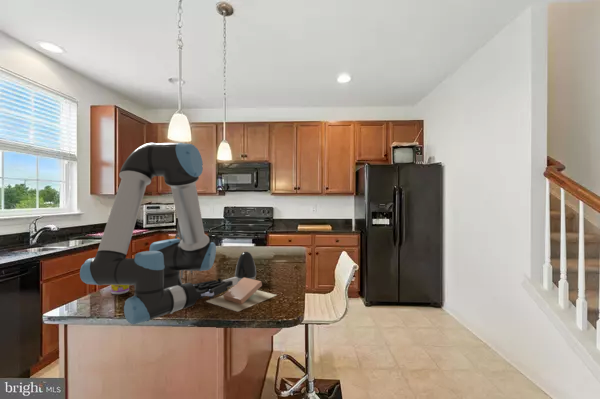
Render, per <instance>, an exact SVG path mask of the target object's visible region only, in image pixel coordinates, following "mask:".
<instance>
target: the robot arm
mask: <svg viewBox="0 0 600 399" xmlns="http://www.w3.org/2000/svg"><path fill="white" fill-rule="evenodd" d="M203 164H204V163H203V158H202V154H201V152H200V151H199V149H198V147H196V146H195V145H194V144H192V143H185V142H161V143H160V142H157V143H156V142H148V143H145V144H142V145H140V146H139V147H137V148H136V149H134V150H133V151H132V152H131V153H130V155H128V157H127V158H126V160H124V162H123V164H122V166H121V168H120V172H119V174H118V177H119V178H120V182H119V185H118V189H117V191H116V195H115V197H114V201H113V203H112V206H111V210H110V213H109V216H108V219H107V222H106V225H105V227H104V229H103V230H104V231H103V234H102V237H101V239H100V243H99V246H98V249H97V251H96V254H95V257H92V258H91V257H90V258H88V259H86V260H85V261H84V263H83V264H82V265H81V267H80V270H79V278H80V279H81V282H83V283H85V284H86V285H95V286H111V285H129V286H133V287H134V295H132V296H130V297H128V298H127V299H126V300H125V301H124V306H123V313H124V314H123V315H124V317H125V319H126V321H127V323H129V324H130V325H137V324H141V323H145V322H149V321H150V320H153V319H156V318H159V317H162V316H165V315H168V314H171V315H172V314H173V313H174V312H177V311H180V310H182V309H183V310H184V309H186V308H190V307H193V306H194V305H195V304H196V303H197V301H198V300H200V299H201V300H202V299H204V298H205V297H209V299H213V298H215V297H216V296H218V295H220V294H222V293H225V292H227V291H228V288H232V287H233V286H234V285H237V284H238V277H235V276H233V277H229V278H226V279H221V278H218V279H217V280H215V279H213V280H207V281H203V282H199V283H192V282H185V283H183V281H182V279H181V270H183V271H186V272H187V271H189V272H191V271H192V272H202V271H209V270H211V269H212V268H213V265H214V263H215V260H216V254H217V245H216V243H215V242H213V241H212V242H210V237H209V236H208V235H207V234H206V233H205V229H204V228H205V227H204V224H203V217H202V213H201V211H202V210H201V208H200V201H199V195H198V190H197V186H196V184H197V182H198V180H199V178H200V176H202V173H203V170H204V169H203ZM155 177H163V180H164V183H165V184H166V185H167V186H168V187H170V188H171V189H170V190H171V194H172V199H173V203H174V208H175V212H176V213H175V214H176V216H177V223H178V222H179V226H180V231H181V235H182V240H181V241H180V238H177V239H175V238H172V239H171V238H170V239H164V240H158V241H154V242H152V243H151V244H150V245H149V250H146V251H141V252H137V253H135V255H134V257H133V258H132V257H131V258H126V257H127V254H128V250H129V247H130V243H131V241H132V237H133V233H134V229H135V226H136V223H137V219H138V215H139V212H140V208H141V205H142V203H143V202H142V201H143V199H144V196H145V192H146V189H147V186H149V185H150V184H151V183H152V179H153V178H155Z"/></svg>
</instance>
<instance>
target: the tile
mask: <svg viewBox="0 0 600 399" xmlns="http://www.w3.org/2000/svg"><path fill="white" fill-rule="evenodd" d="M262 286H263V283H262V281H261V280H257V279H254V280H253V279H249V278H242V279H241V280H240V281H239V282H238V284H237V285H234V286H231V287H229V288H228V289H227V291H225V292H224V293H223V294H222V295H223V296H224V299H226V300H229V301H233V302H236V303H240V304H243V303H244V302H245V301H246V300H247V299H248V298H249V297H250V296H251V295H253V294H254V293H255V292H256V291H257V290H259V289H260V288H261V287H262Z"/></svg>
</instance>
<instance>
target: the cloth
mask: <svg viewBox="0 0 600 399" xmlns="http://www.w3.org/2000/svg"><path fill="white" fill-rule="evenodd" d="M276 296H277V294H275V293H270V292H268V291H267V292H266V291H262V290H259V289H258V290H257V291H256V292H255V293H254V294H253V295H251V296H250V297H249V298H248V299H247V300H246V301H245V302H244V303H243V304H240V303H236V302H233V301H229V300H226V299H224V296H223V294H222V295H219V296H217V297H216V296H215V297H213V298H210V299H208V300H205V302H206V303H208V304H213V305H215V306H218V307H220V308H221V307H222V308H225V309H226V310H231V311H234V312H237V313H238V312H240V311H242V310H245V309H249V308H250V307H252V306H255V305H258V304H259V303H261V302H264V301H266V300H269V299H271V298H275V297H276Z"/></svg>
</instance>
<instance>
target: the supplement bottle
mask: <svg viewBox="0 0 600 399" xmlns="http://www.w3.org/2000/svg"><path fill="white" fill-rule="evenodd" d="M129 291H130V285H110V293H111V294H112V295H123V294H126V293H128V292H129Z"/></svg>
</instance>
